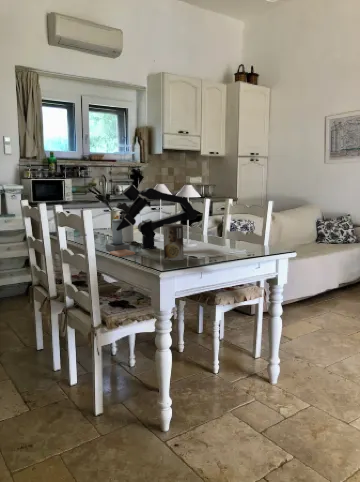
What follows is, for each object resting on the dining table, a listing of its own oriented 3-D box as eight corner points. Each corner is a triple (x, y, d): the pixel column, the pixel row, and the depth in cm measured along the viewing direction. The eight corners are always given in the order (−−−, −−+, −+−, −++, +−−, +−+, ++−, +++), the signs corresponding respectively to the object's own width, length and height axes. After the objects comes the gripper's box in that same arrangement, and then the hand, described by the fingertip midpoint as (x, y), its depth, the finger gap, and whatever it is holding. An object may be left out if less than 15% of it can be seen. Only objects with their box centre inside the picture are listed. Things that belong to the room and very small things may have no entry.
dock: (140, 253, 204) (140, 247, 203) (119, 256, 196) (118, 250, 195) (120, 247, 218) (120, 241, 218) (99, 250, 210) (99, 244, 210)
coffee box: (183, 257, 194) (182, 223, 191) (183, 260, 188) (183, 225, 185) (163, 257, 194) (163, 223, 191) (163, 260, 188) (163, 225, 184)
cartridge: (124, 243, 211) (123, 220, 209) (115, 244, 208) (115, 220, 206) (119, 241, 215) (118, 219, 212) (110, 242, 212) (110, 219, 209)
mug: (130, 239, 240) (130, 219, 237) (135, 241, 234) (135, 220, 232) (114, 241, 234) (114, 220, 232) (119, 243, 229) (118, 221, 226)
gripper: (122, 195, 217) (102, 216, 216) (128, 197, 199) (106, 221, 198) (137, 209, 221) (117, 230, 220) (144, 213, 203) (123, 236, 202)
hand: (115, 229), depth 210 cm, fingers closed on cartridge, 5 cm apart
